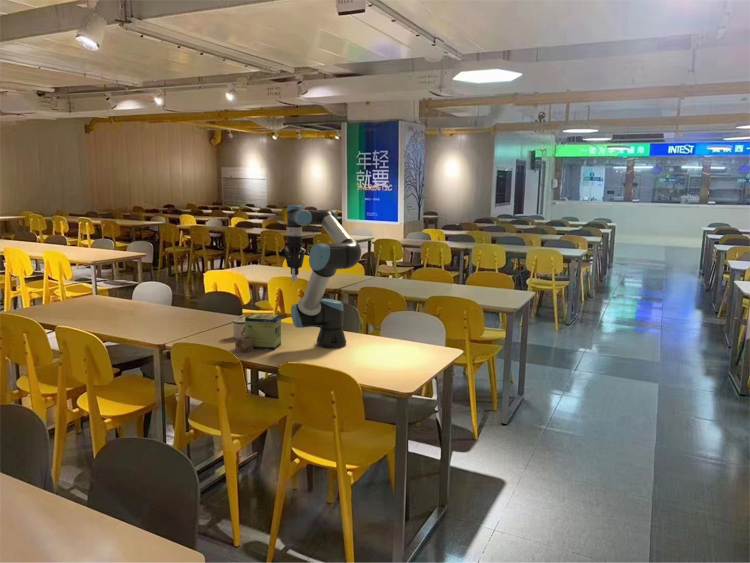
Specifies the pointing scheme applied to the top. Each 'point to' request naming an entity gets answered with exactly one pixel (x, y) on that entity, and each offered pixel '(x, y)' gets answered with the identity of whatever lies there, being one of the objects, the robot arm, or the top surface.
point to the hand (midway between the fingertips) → (294, 280)
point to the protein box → (264, 330)
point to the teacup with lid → (239, 327)
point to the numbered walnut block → (244, 344)
